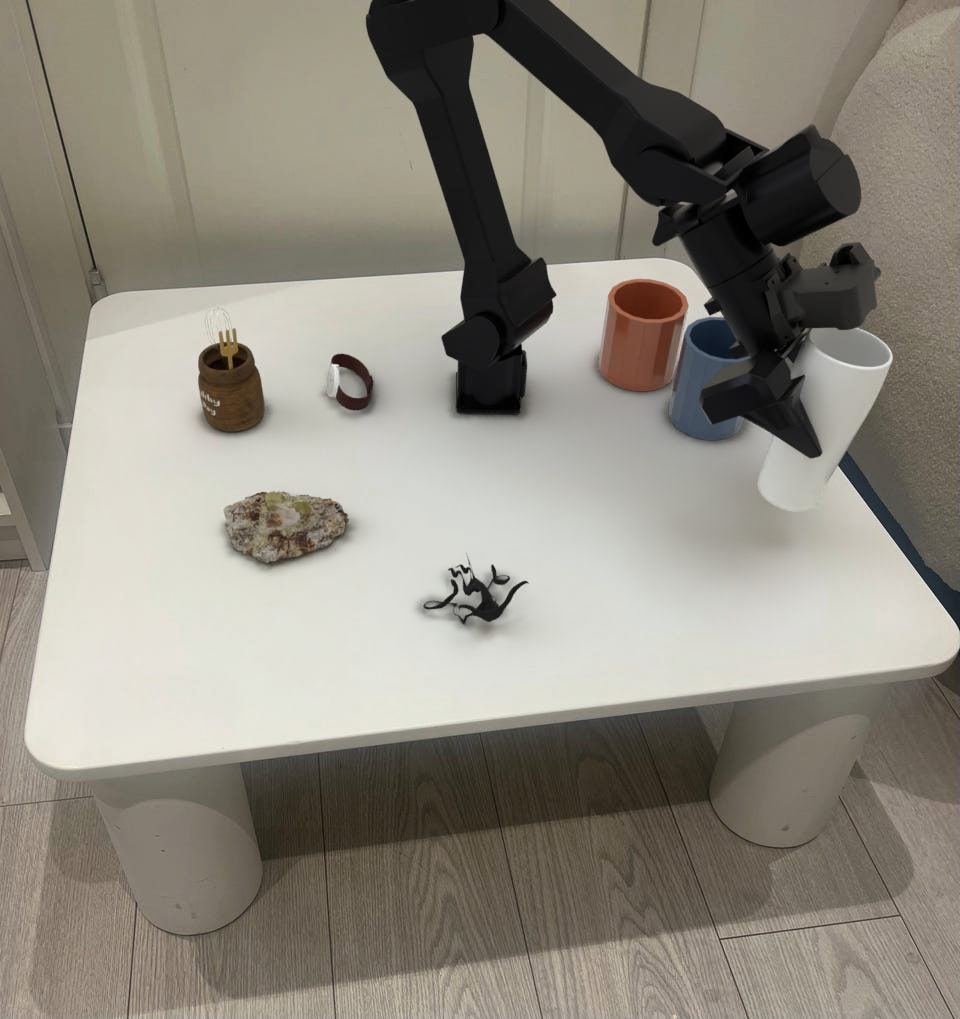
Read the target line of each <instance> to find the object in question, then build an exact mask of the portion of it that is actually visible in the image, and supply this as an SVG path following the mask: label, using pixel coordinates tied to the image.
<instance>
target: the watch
mask: <svg viewBox="0 0 960 1019" xmlns="http://www.w3.org/2000/svg"><path fill="white" fill-rule="evenodd" d="M339 368H344V369H347V370H350V371H352V372H353V373H354V374H356V375H357V376H359V378H360V379H361V380H362V382H363V383H364V386H365V389H366V396H363V397H353V396H350V395H348V394H347V393H345V392H344V391H343V390H342V388H341V386H340V370H339ZM325 381H326V382H325V384H326V385H325V386H326V388H325V389H326V393H327V395H328V397H330V398H334V399H335V400H336V401H337V403H338V404H339V405H340V406H341V407H343V408H344V409H346V410H348V411H354V412H356V411H362V410H364V409H366V408H368V406H369V404H370V401H371V396H372V393H373V391H374V390H373V389H374V383H375V382H374V381H375V380H374V378H373V375H372V374H370V371H369V369H368V368H367V366H366V365H365V364H364V363H363V362H362V361H361V360H359V359H358V358H356V357H355V356H353V355H350V354H347V353H336V354H334V355H333V356H332V357H331V360H330V364H329V366H328V368H327V372H326V379H325Z"/></svg>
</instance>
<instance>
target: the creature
mask: <svg viewBox="0 0 960 1019" xmlns="http://www.w3.org/2000/svg"><path fill="white" fill-rule="evenodd" d="M465 554H466V558H467V560H468V561H467V562H468V566H466V567H465V566H464V564H461V563H460V564H458V565H456V566H455V568H456V569H457V568H459V567H460V569H461V570H460V569H458V570H455V569H454V568H453V567H449V568H448V569H447V571H449V572H450V573H451V576H452V577H453V578H454V579H453V578H451V579H450V584H451V586H452V587H453V589H452V590H453V591H452V593H451V594H450V595H448V596H446V598H445V599H444V600H443V601H439V600H433V602H434V603H438V604H436V605H433V606H426V604H428V603H429V602H431V600H427V601H426V602H425V603H424V604H423V608H424V609H425V610H438V609H443V608H444V607H446V606H448V605H452V606H453V610H452V611H453V615H455V616H457V617H458V618H459V620H460V622H461V624H466V622H467V620H468V618H470V617H477V618H479V619H481V620H483V621H484V622H487V623H491V622H493V621H496V620H498V619H499V618H500V617H501V616H502V615H503V613H504V611H505V610H506V608H507V607H508V605H509V604H510V603H511V601H512V599H513V597H514V595H515V594H516V593H517V592H518V590H519V589H520V588H521V587H523V586H524V585H526V584H527V585H529V584H530V583H529V581H528V580H522V581H520V582H519V583H516V584H515V585H514V586H513V587H512V588H511V589H510V590H509V592H508V593H507V595H506V597H505V599H504V601H503V602H502V603H501V604H500V605H499V604H498V603H497V597H495V596H494V595H492V594H491V592H490V591H489V588H490V587H491V585H492V584H495V585H499V586H505V585H506V584H507V583H508V582H510V580H511V577H510V575H507V574H506V575H504V574H503V575H502V574H501V577H507V578H506V579H501V578H498V577H500V575H497V568H496V567H495V565H494V564H493V563H492V564H490V569H491V572H492V579H491V581H490V582H489V584H488V586H486V584H484V582H482V581H481V580H480V579H479V578H477V577H476V575H475V573H474V571H473V567H472V564H471V562H470V559H469V556H468V553H467V552H465ZM463 574H465V575H468V574H470V575H469V576H470V577H469V578H470V580H469V582H468V583H466V581H465V579H464V576H463ZM459 575H460V576H461V577H462V578H461V579H462V591H463V593H464V595H465V596H468V597H470V596H471V595H472V594H473V593H474V592H475V593H480V595H481V601H480V603H479V604H478V605H477V607H474V606H472V605H470V604H465V603H463V604H459V603H458V602H452V601H453V599H455V597H456V596H457V595H458V593H459V585H458V583H457V580H456V579H457V578H458V576H459ZM493 598H495V599H493ZM458 604H459V605H458ZM457 605H458V608H457V609H458V611H460V610H461V609H466V610H468V611H470V613H468V614H465V615H464V617H463V618H462V617H461V615H459V614H457V613H455V608H456V606H457Z"/></svg>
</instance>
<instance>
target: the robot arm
mask: <svg viewBox="0 0 960 1019" xmlns="http://www.w3.org/2000/svg"><path fill="white" fill-rule="evenodd" d="M365 27H366V31H367V37H368V39H369V42H370V44H371V46H372V48H373V50H374V52H375V55H376V58H377V60H378V61H379V64H380V65H381V68H382V70H383V72H384V74H385V76H386V78H387V79H388V80H389V81H390V82H391V83H392V84H393V85H394V86H395V87H396V88H397V89H398V90H399V91H400V92H401V94H403V95H404V96H405V97H406V98H407V99H408V100H409V101H410V102H411V103H412V105H413V107H414V109H415V112H416V116H417V118H418V121H419V125H420V127H421V131H422V134H423V137H424V139H425V143H426V146H427V149H428V153H429V155H430V158H431V161H432V164H433V168H434V172H435V174H436V177H437V180H438V183H439V187H440V189H441V193H442V196H443V199H444V202H445V205H446V208H447V211H448V215H449V217H450V220H451V224H452V227H453V229H454V232H455V237H456V238H457V242H458V246H459V248H460V251H461V255H462V258H463V262H464V263H463V264H464V267H463V273H462V280H461V281H462V282H461V288H460V296H459V298H460V304H461V309H462V310H461V311H462V316H463V320H461V321H459V322H458V323H457V324H456V325H454V326H453V327H451V328H450V329H448V330H447V331H446V332H445V333H444V334H442V335H441V336H440V338H441V342H442V345H443V349H444V353H445V355H446V356H447V357H449V358H451V359H453V360H455V361H457V367H456V368H457V369H456V370H457V371H456V372H455V411H456V413H458V414H496V415H497V414H499V415H501V414H502V415H503V414H504V415H507V414H509V415H510V414H511V415H518V414H520V413H521V409H522V406H521V399H524V397H526V388H527V387H526V386H527V377H528V376H527V375H528V358H527V351H526V350H525V349H523V344H522V343H524V342H525V341H526V340H528V339H529V338H531V336H533V334H535V333H536V332H537V331H538V330H540V329H541V328H542V327H543V326H545V325H546V324H548V321H549V320H550V318H551V316H552V315H553V313H554V303H553V299H554V298H555V297H557V292H556V291H555V290H554V288H553V286H552V284H551V281H550V278H549V273H548V266H547V262H546V261H545V259H544V257H541V256H539V257H536V258H533V259H532V258H531V257H530V256H528V255H527V253H525V251H523V250H522V248H520V246H518V244H517V242H516V240H515V237H514V233H513V230H512V226H511V223H510V220H509V216H508V213H507V209H506V207H505V202H504V200H503V196H502V193H501V189H500V186H499V183H498V179H497V176H496V173H495V169H494V166H493V162H492V158H491V156H490V153H489V149H488V145H487V142H486V139H485V135H484V132H483V129H482V125H481V122H480V118H479V116H478V115H479V114H478V111H477V109H476V104H475V102H474V99H473V95H472V92H471V88H470V87H471V86H470V76H471V71H472V61H473V56H474V55H473V54H474V49H475V41H474V36H480V35H485V36H487V37H488V38H490V39H491V40H492V41H493V42H494V43H495V44H496V45H497V46H499V47H500V48H501V49H502V50H503V51H504V52H506V54H508V55H509V56H510V57H511V58H512V59H513V60H515V61H516V62H517V63H518V64H519V65H521V66H522V67H523V68H524V69H525V70H526V71H527V72H528V73H530V74H531V75H532V76H533V77H534V79H536V80H538V82H540V84H542V85H543V86H544V87H545V88H547V89H548V90H549V91H550V92H551V93H552V94H553V95H554V96H556V97H557V98H558V99H559V100H560V101H561V102H563V103H564V104H565V105H566V106H567V107H568V108H569V109H571V111H573V112H574V113H575V114H576V115H577V116H578V117H579V118H581V119H582V120H583V121H584V122H585V123H587V124H588V125H589V126H590V127H591V128H592V129H593V131H594V132H595V133H596V134H597V136H598V137H599V138H600V139H601V141H602V143H603V145H604V148H605V151H606V153H607V156H608V159H609V162H610V164H611V166H612V167H613V168H614V170H615V171H616V173H618V174H619V176H620V177H621V178H622V179H623V180H624V181H625V183H626V184H627V185H628V186H629V188H631V190H632V191H633V192H634V194H636V196H637V197H638V198H639V199H641V200H642V201H643V202H645V203H646V204H648V205H650V206H652V207H656V208H660V207H662V208H661V209H660V210H658V213H657V216H658V218H657V223H656V224H657V225H656V227H655V230H654V232H653V235H652V236H653V237H652V239H651V243H652V245H653V246H654V247H660V246H662V245H664V244H666V243H667V242H670V241H671V240H673V239H675V238H677V239H679V242H680V244H681V245H682V248H683V249H684V251H685V252H686V254H687V256H688V257H689V259H690V261H691V263H692V265H693V266H694V268H695V270H696V272H697V273H698V275H699V277H700V278H701V280H702V282H703V284H704V285H705V287H706V289H707V291H708V292H709V294H710V296H711V297H710V298H709V299H708V300H707V301H706V302H704V304H703V307H704V309H705V311H706V312H707V314H708V315H709V316H708V317H712V316H713V315H716V314H718V313H719V312H720V313H721V316H722V317H724V319H725V320H726V322H727V324H728V326H729V327H730V329H731V331H732V333H733V334H734V336H735V338H736V340H737V341H736V342H735V343H734V344H733V345H732V347H731V348H730V349H729V350H730V352H731V354H732V356H733V357H734V359H735V360H736V359H739V358H741V357H744V356H746V355H749V356H750V358H749V359H746V360H744V361H741V362H739V363H736V364H733V365H731V366H728V367H725V368H723V369H721V370H720V371H719V372H718V373H717V374H716V375H715V376H714V377H713V378H712V379H711V380H710V381H709V382H708V384H707V385H706V386H705V387H704V388H703V389H702V390H701V394H700V398H699V402H698V404H699V405H700V407H701V409H702V411H703V412H704V414H705V416H706V417H707V419H708V421H709V422H710V424H712V425H714V424H717V423H720V422H723V421H726V420H729V419H732V418H735V417H738V416H740V417H742V418H744V419H743V420H746V421H748V422H750V423H751V424H754V425H756V426H758V427H759V428H761V429H763V430H764V431H767V432H768V433H770V434H771V435H774V436H776V437H777V438H779V439H781V440H782V441H784V442H785V443H787V444H788V445H790V446H791V447H793V448H794V449H796V450H797V451H799V452H800V453H802V454H804V455H805V456H807V457H808V458H811V459H812V458H816V457H820V456H821V455H822V449H821V446H820V443H819V440H818V438H817V435H816V433H815V431H814V429H813V426H812V424H811V422H810V420H809V418H808V415H807V413H806V411H805V409H804V406H803V404H802V402H801V400H800V393H801V390H802V387H803V383H804V380H805V375H802V376H799V377H796V378H793V379H791V368H790V367H789V365H788V363H787V361H786V359H788V360H789V361H790V362H791V363H792V364H793V365H794V362H795V359H796V357H797V355H798V352H799V350H800V348H801V345H802V343H803V341H804V339H805V337H806V334H807V332H808V331H809V329H811V328H837V329H838V330H850V329H854V328H859V327H861V326H862V325H863V324H864V323H865V321H866V318H867V316H868V315H869V314H870V313H871V311H873V310H875V309H876V308H877V307H878V299H877V291H876V282H877V281H878V280H879V278H880V277H881V275H882V270H881V268H880V267H878V266H876V264H875V259H874V258H872V257H871V256H870V254H869V253H868V251H867V250H866V249H865V247H864V246H863V244H862V243H861V242H859V241H858V242H844V243H842V244H841V245H839V246H838V248H837V249H836V250H835V251H834V252H833V253H832V256H831V258H830V261H829V263H828V265H827V262H821V263H820V264H818V266H817V267H812V268H811V267H810V268H803V267H802V265H801V263H800V262H799V260H798V258H797V257H796V256H795V255H792V254H791V253H790V252H787V253H784V254H782V255H778V253H777V251H776V249H775V248H774V246H776V247H786V246H788V245H791V244H793V243H795V242H797V241H799V240H801V239H803V238H805V237H808V236H810V235H812V234H814V233H816V232H818V231H821V230H822V229H825V228H827V227H829V226H831V225H834V224H836V223H837V222H839V221H841V220H844V219H846V218H848V217H850V216H852V215H854V214H856V213H857V212H858V210H859V208H860V206H861V202H862V187H861V182H860V178H859V175H858V172H857V168H856V167H855V165H854V162H853V160H852V159H851V156H850V155H849V154H848V153H846V154H845V153H844V151H843V150H842V149H841V148H840V146H838V145H837V144H836V143H835V142H834V141H832V140H830V139H829V138H825V137H822V136H821V135H820V133H819V131H818V130H819V129H818V128H817V126H816V125H815V124H813V123H811V124H808V125H807V126H805V127H804V128H801V129H799V130H798V131H796V133H794V134H793V135H791V137H789V138H788V139H787V140H786V141H784V142H783V143H781V144H779V145H777V146H775V147H774V148H772V149H769V148H768V147H766V146H764V145H762V144H760V143H758V142H755V141H754V140H751V139H749V138H747V137H745V136H743V135H741V134H739V133H738V132H735V131H734V130H731V129H729V128H727V127H725V125H724V123H723V122H722V121H721V120H720V118H719V117H718V115H716V114H715V113H713V112H712V111H711V110H709V109H708V108H706V107H705V106H703V105H701V104H700V103H698V102H696V101H695V100H693V99H691V98H689V97H688V96H686V95H685V94H683V93H681V92H680V91H675V90H673V89H670V88H665V87H663V86H659V85H656V84H652V83H650V82H648V81H646V80H644V79H643V78H642V77H640V76H638V75H636V74H635V73H634V72H633V71H632V70H631V69H629V68H628V67H627V66H626V65H625V64H623V63H622V62H621V61H620V60H619V59H618V58H617V57H616V56H614V55H613V54H612V53H611V52H610V51H608V50H607V49H606V48H605V47H604V46H603V45H602V44H600V42H598V41H597V40H596V39H595V38H594V37H593V36H591V35H590V34H589V33H588V32H587V31H586V30H584V29H583V28H582V27H581V26H580V25H579V24H578V23H577V22H575V21H574V20H573V19H572V18H570V16H568V15H567V14H566V13H565V12H563V11H562V9H560V8H559V7H558V6H557V5H555V4H554V3H553V2H552V1H551V0H371V1H370V4H369V8H368V11H367V13H366V15H365ZM731 190H733V191H734V192H732V193H729V192H730V191H731ZM728 193H729V194H728ZM682 203H686V204H682ZM773 245H774V246H773Z"/></svg>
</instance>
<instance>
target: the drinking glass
mask: <svg viewBox="0 0 960 1019" xmlns="http://www.w3.org/2000/svg"><path fill="white" fill-rule="evenodd" d="M893 360H894V355H893V352H892V351H891V349H890V347H889V346H888V345H887V344H886V342H884V341H883V340H882V339H881V338H880V337H878V336H877V335H874V334H872V333H871V332H868V331H866V330H865V329H862V328H859V327H857V328H854V329H850V330H838V329H837V328H811V329H809V331H808V332H807V334H806V337H805V339H804V341H803V343H802V345H801V348H800V350H799V352H798V355H797V357H796V359H795V362H794V364H793V365H792V368H791V369H790V371H791V379H793V378H796V377H799V376H802V375H805V380H804V383H803V387H802V390H801V393H800V400H801V402H802V404H803V406H804V409H805V411H806V413H807V415H808V418H809V420H810V422H811V424H812V426H813V429H814V431H815V433H816V435H817V438H818V440H819V443H820V446H821V449H822V455H821V456H820V457H816V458H812V459H811V458H808V457H807V456H805V455H804V454H802V453H800V452H799V451H797V450H796V449H794V448H793V447H791V446H790V445H788V444H787V443H785V442H784V441H782V440H781V439H779V438H777V437H776V436H774V435H773V434H771V438H770V442H769V445H768V449H767V451H766V455H765V459H764V462H763V465H762V468H761V470H760V473H759V474H758V477H757V489H758V491H759V493H760V495H761V496H762V497H763V499H765V500H766V501H767V502H768V503H769V504H771V505H773V506H775V507H776V508H778V509H781V510H784V511H788V512H793V513H794V512H795V513H802V512H806V511H810V510H811V509H813V508H815V506H817V505H818V504H819V501H820V500H821V498H822V496H823V493H824V491H825V489H826V487H827V485H828V483H829V482H830V480H831V478H832V476H833V475H834V473H835V472H836V469H837V467H838V466H839V464H840V462H841V461H842V459H843V458H844V456H845V454H846V452H847V450H848V449H849V447H850V446H851V444H852V442H853V440H854V439H855V437H856V435H857V434H858V432H859V430H860V428H861V427H862V425H863V424H864V422H865V420H866V418H867V417H868V415H869V413H870V411H871V410H872V408H873V406H874V404H875V402H876V400H877V398H878V396H879V394H880V392H881V389H882V387H883V385H884V383H885V380H886V378H887V376H888V373H889V370H890V368H891V366H892V363H893Z"/></svg>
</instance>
